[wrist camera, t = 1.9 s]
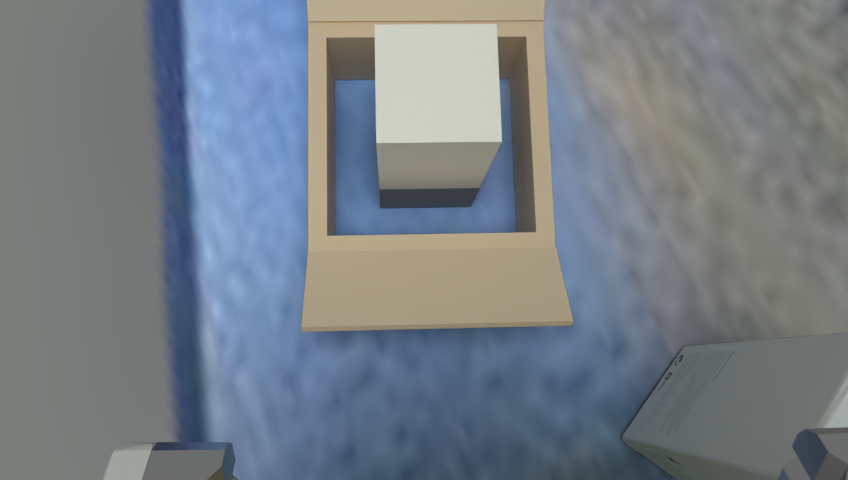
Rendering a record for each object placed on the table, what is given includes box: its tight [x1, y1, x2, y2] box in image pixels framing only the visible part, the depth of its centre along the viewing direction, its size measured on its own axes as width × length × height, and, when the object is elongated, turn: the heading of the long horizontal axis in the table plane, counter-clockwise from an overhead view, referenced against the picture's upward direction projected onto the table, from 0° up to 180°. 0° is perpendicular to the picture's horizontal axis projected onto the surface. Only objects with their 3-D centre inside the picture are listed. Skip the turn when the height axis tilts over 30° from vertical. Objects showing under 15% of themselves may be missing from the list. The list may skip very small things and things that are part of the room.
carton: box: [301, 0, 573, 332], centre depth 35 cm, size 11×17×7 cm, turn 1°
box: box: [374, 24, 502, 208], centre depth 33 cm, size 4×4×11 cm
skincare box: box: [622, 332, 848, 480], centre depth 29 cm, size 8×6×15 cm
